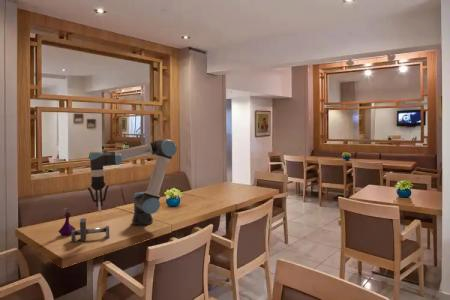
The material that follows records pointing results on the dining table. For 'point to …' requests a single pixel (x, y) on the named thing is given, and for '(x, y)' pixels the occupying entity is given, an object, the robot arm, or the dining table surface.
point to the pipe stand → (90, 232)
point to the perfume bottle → (66, 225)
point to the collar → (83, 229)
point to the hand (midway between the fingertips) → (99, 211)
